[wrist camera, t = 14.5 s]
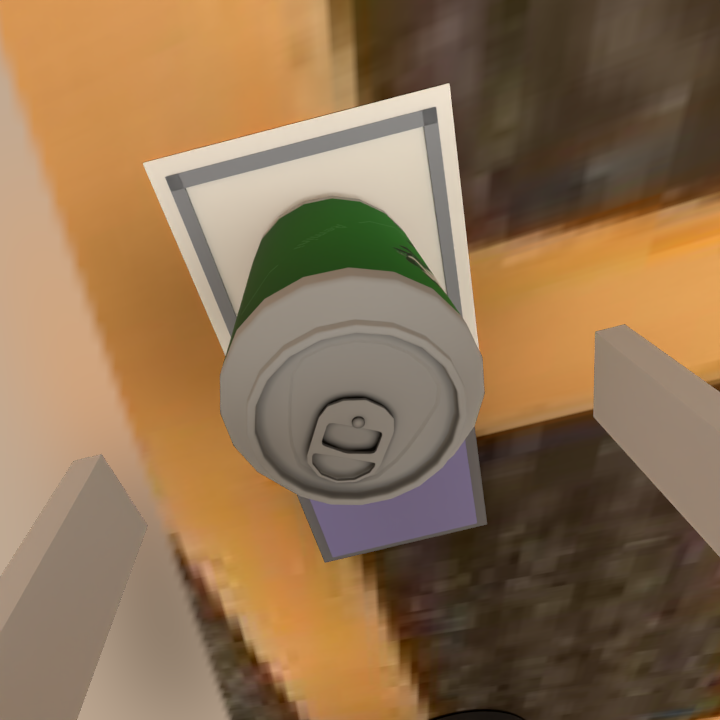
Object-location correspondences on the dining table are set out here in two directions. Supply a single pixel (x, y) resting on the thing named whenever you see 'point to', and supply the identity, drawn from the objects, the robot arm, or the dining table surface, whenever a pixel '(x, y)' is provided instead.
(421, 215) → the marked sheet
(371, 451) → the soda can
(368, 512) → the ink pad
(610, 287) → the dining table surface
